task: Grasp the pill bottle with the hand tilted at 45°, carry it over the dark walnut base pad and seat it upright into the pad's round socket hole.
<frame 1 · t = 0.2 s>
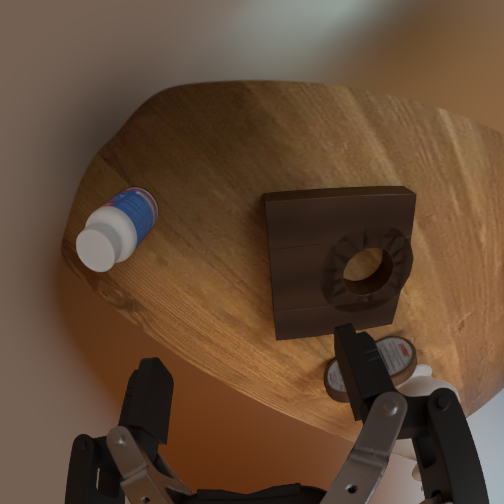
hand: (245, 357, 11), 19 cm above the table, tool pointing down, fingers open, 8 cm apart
decorative vase: (405, 382, 46), on the table
base pad: (337, 261, 31), on the table
pill bottle: (137, 209, 28), on the table
tin: (363, 348, 39), on the table
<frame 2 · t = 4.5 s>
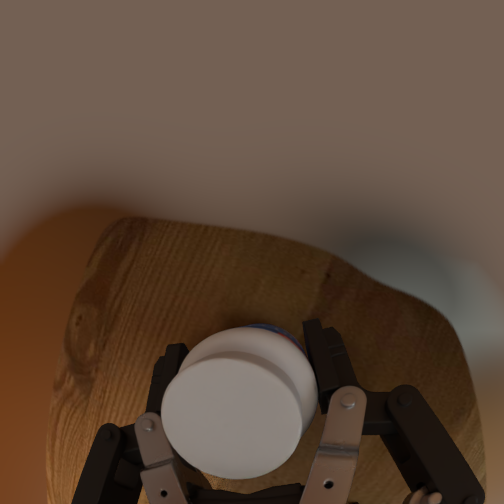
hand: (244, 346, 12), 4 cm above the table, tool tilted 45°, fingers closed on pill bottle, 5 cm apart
pill bottle: (261, 365, 16), on the table, touching gripper
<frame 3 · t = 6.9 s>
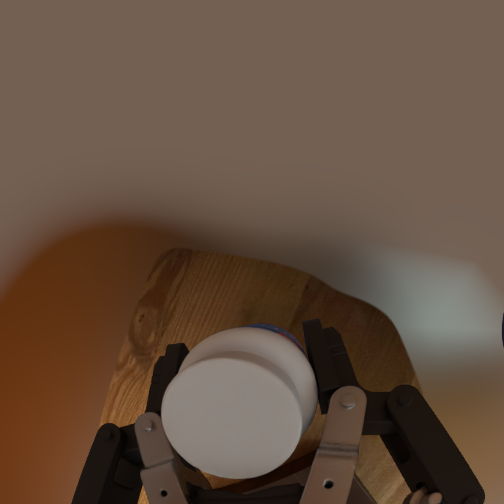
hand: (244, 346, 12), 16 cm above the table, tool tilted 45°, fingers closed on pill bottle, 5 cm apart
pill bottle: (261, 364, 16), point 11 cm above the table, touching gripper
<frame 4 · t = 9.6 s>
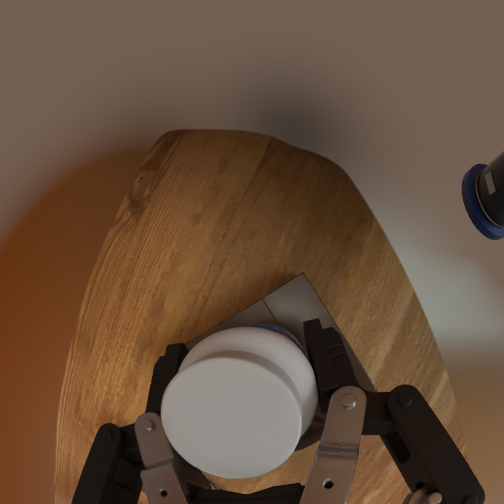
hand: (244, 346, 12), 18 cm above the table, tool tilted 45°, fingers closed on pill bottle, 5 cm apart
base pad: (270, 377, 28), on the table
pill bottle: (261, 364, 16), point 14 cm above the table, touching gripper
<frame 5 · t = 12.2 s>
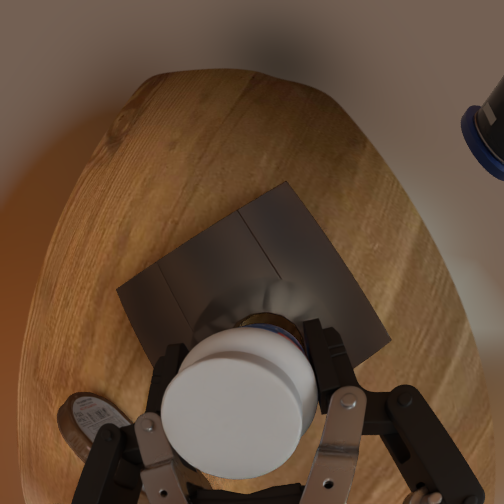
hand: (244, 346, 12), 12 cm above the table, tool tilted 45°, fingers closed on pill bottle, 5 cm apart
base pad: (249, 319, 24), on the table
pill bottle: (261, 365, 16), point 7 cm above the table, touching gripper
tin: (142, 438, 22), on the table
when the fingers open (4 cm above the table, at t = 14.7 s): pill bottle stays where it is, resting in base pad.
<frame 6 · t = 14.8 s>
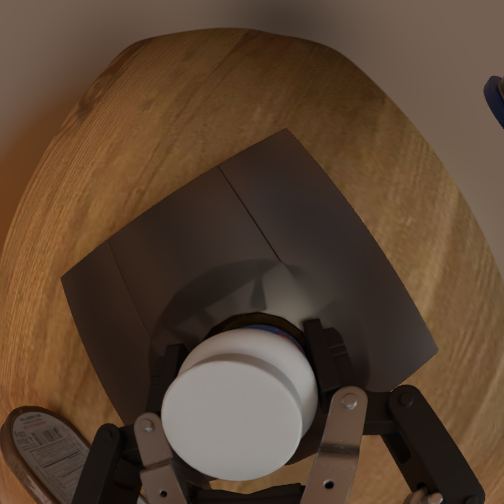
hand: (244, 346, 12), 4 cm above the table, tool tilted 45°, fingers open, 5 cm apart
base pad: (234, 322, 16), on the table
pill bottle: (261, 365, 16), resting in base pad
tin: (105, 466, 15), on the table
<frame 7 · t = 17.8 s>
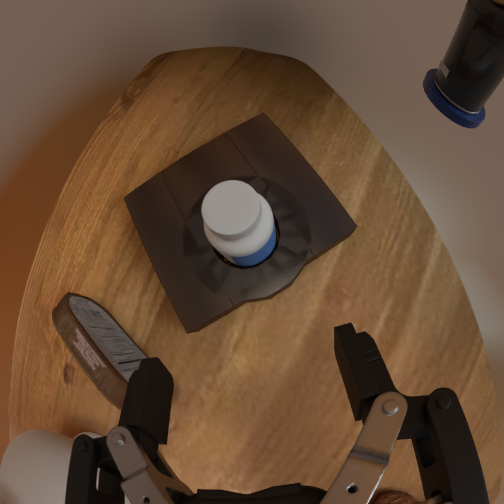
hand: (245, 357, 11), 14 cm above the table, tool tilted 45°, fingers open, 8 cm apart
decorative vase: (107, 470, 23), on the table
base pad: (233, 218, 28), on the table
pill bottle: (249, 244, 28), resting in base pad
tin: (131, 348, 27), on the table
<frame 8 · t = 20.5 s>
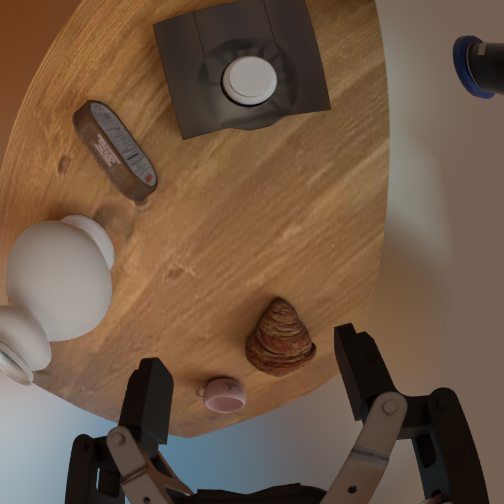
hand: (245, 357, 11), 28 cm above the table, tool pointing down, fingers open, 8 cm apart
pastry: (277, 336, 52), on the table
decorative vase: (82, 247, 39), on the table
base pad: (242, 62, 27), on the table
pill bottle: (247, 84, 29), resting in base pad
tin: (128, 142, 32), on the table
mug: (220, 383, 60), on the table
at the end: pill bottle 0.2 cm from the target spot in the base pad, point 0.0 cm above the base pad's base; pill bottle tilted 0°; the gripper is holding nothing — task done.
